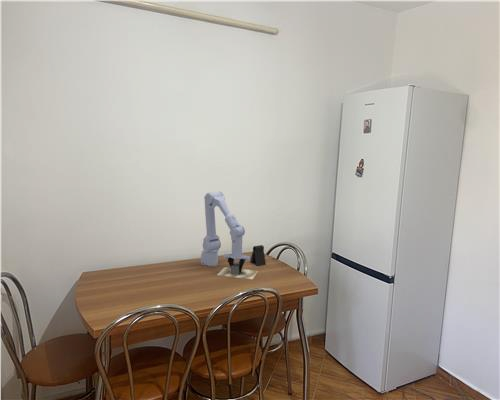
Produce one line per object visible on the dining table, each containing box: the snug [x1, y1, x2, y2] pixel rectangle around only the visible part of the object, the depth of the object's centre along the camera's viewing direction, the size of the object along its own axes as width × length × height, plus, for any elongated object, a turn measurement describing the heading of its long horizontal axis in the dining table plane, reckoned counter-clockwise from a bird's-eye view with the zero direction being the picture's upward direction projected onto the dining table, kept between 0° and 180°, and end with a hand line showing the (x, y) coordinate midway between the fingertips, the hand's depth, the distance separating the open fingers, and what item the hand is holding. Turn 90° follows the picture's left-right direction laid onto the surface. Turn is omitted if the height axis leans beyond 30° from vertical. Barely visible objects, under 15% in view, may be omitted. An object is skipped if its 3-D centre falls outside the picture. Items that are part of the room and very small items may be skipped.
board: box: [216, 266, 259, 280], centre depth 202 cm, size 20×14×1 cm
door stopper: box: [249, 244, 267, 267], centre depth 219 cm, size 9×6×12 cm, turn 33°
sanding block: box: [231, 261, 239, 275], centre depth 202 cm, size 4×8×4 cm, turn 166°
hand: (236, 271), depth 202 cm, fingers closed on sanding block, 4 cm apart
